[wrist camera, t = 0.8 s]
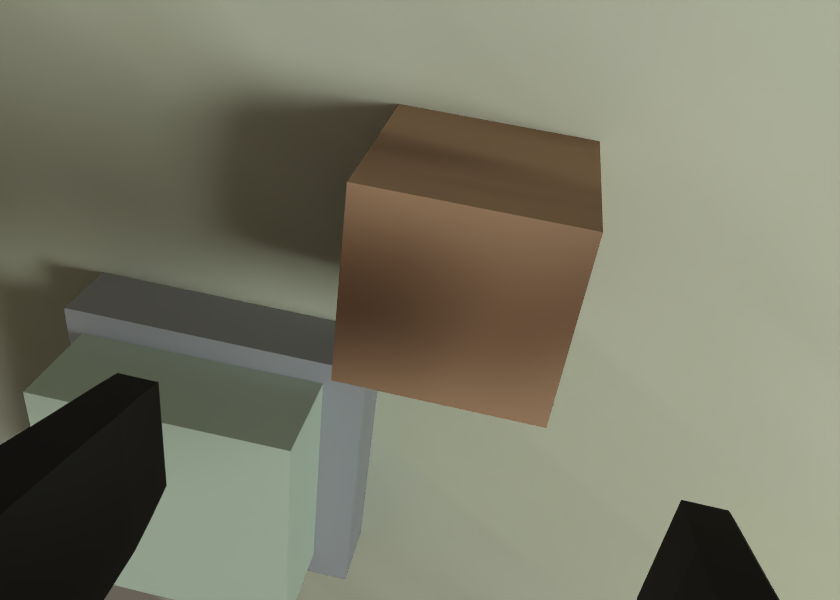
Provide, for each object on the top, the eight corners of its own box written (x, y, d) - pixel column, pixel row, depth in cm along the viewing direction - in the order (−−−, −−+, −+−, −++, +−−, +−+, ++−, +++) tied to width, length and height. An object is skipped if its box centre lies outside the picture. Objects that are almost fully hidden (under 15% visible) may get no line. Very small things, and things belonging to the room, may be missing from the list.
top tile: (313, 554, 23) (285, 627, 21) (109, 506, 24) (62, 572, 21) (323, 384, 19) (290, 451, 17) (82, 333, 20) (22, 392, 18)
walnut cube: (554, 309, 19) (546, 427, 16) (380, 273, 20) (331, 380, 16) (599, 140, 17) (602, 232, 13) (399, 103, 17) (346, 181, 13)
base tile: (365, 517, 25) (345, 579, 23) (136, 464, 26) (97, 519, 24) (389, 318, 21) (367, 373, 19) (114, 261, 22) (64, 307, 20)
